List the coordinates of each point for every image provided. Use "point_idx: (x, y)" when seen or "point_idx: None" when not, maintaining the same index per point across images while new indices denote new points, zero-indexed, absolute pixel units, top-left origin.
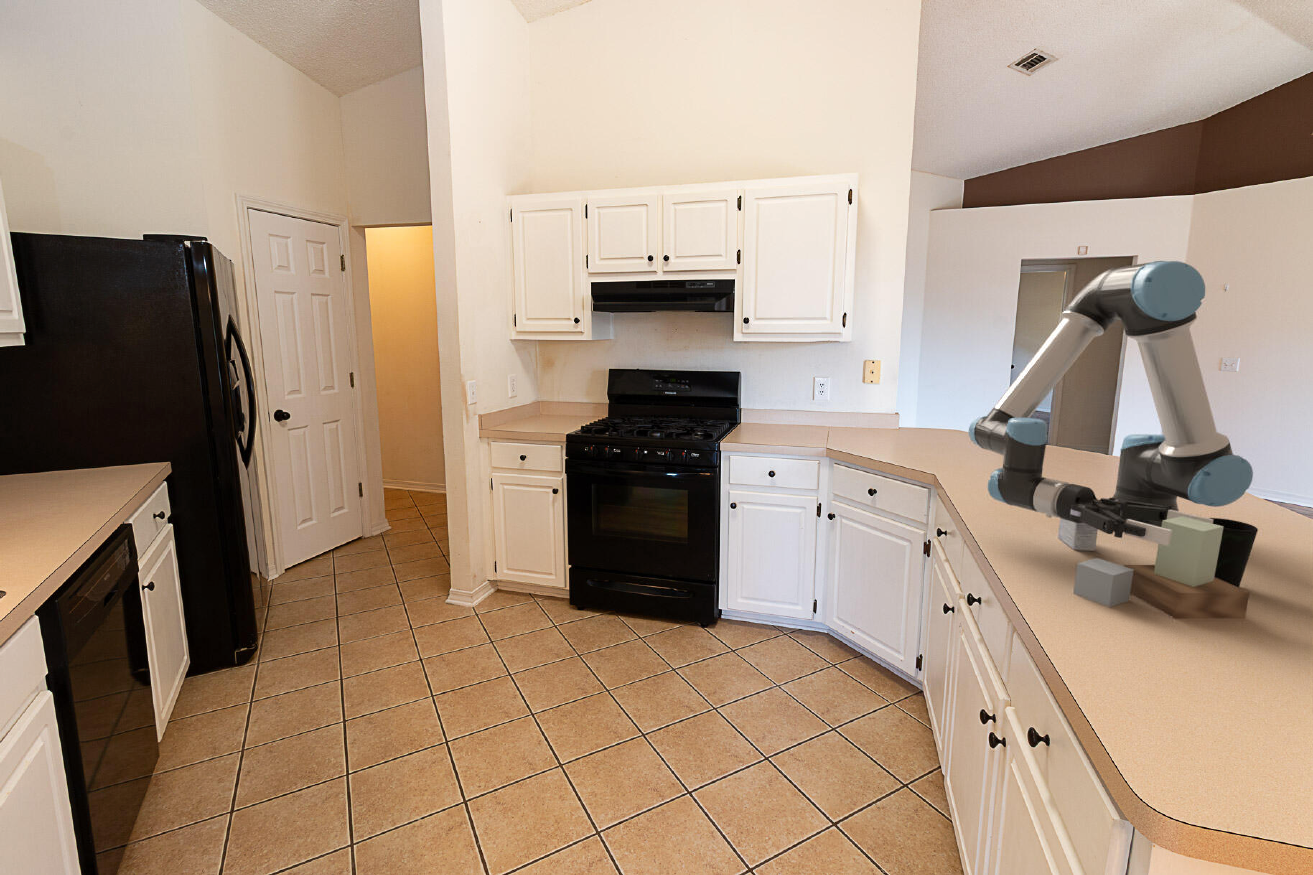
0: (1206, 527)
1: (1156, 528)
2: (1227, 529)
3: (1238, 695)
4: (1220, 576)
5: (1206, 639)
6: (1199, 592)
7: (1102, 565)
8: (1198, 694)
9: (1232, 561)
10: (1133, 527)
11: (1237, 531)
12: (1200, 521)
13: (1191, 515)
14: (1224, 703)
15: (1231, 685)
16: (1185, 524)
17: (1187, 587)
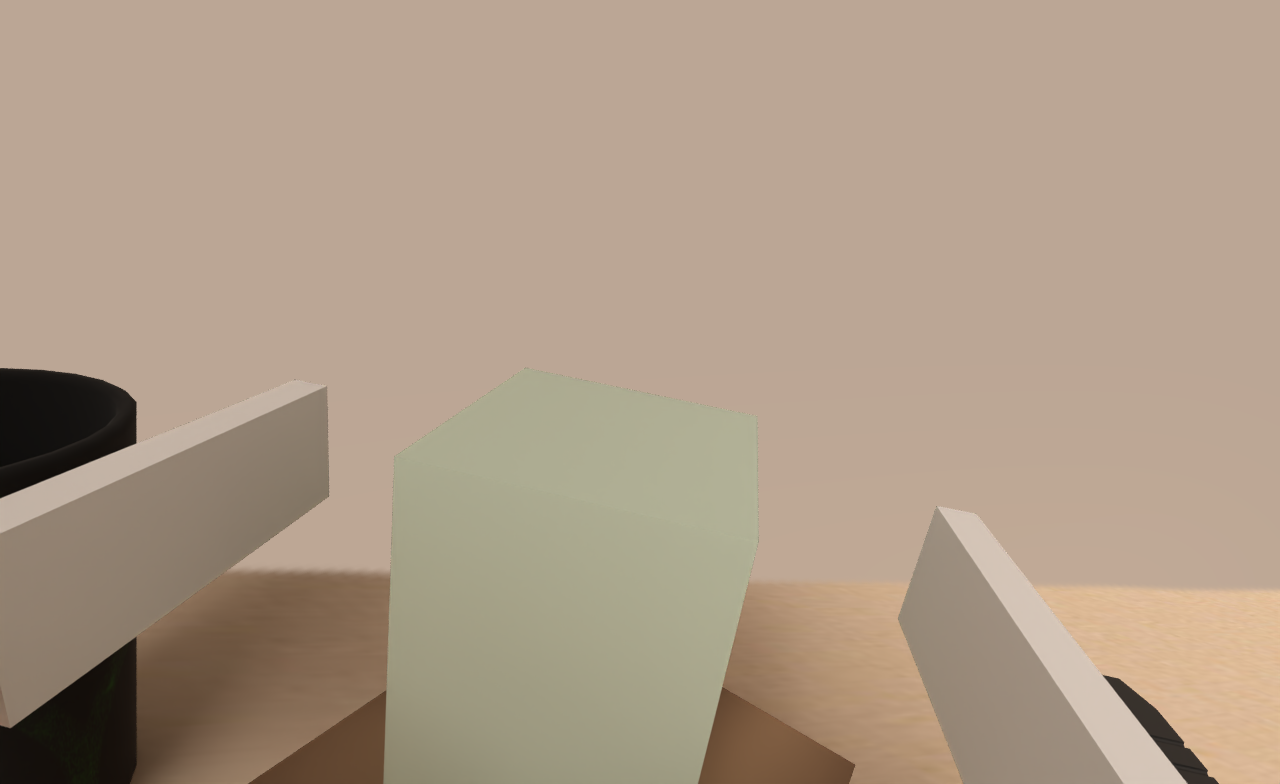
0: (641, 404)
1: (1018, 577)
2: (110, 436)
3: (1122, 657)
4: (124, 725)
5: (892, 743)
6: (743, 701)
7: None
8: (1252, 713)
9: None
10: (1197, 770)
11: (135, 418)
12: (494, 407)
13: (220, 434)
14: (1200, 672)
15: (1098, 669)
16: (693, 454)
17: (721, 749)
